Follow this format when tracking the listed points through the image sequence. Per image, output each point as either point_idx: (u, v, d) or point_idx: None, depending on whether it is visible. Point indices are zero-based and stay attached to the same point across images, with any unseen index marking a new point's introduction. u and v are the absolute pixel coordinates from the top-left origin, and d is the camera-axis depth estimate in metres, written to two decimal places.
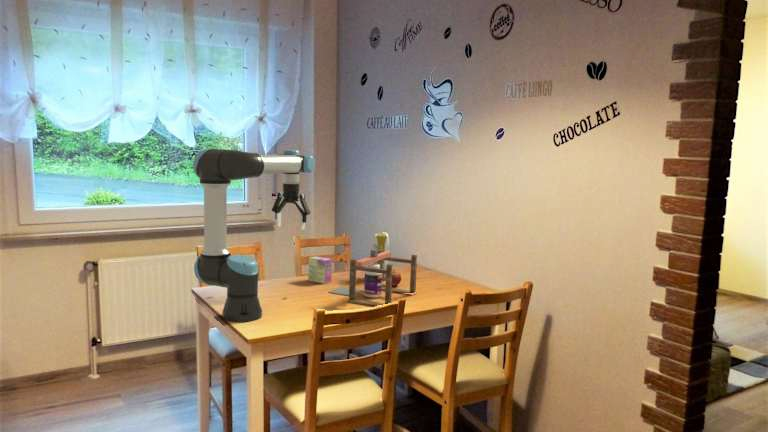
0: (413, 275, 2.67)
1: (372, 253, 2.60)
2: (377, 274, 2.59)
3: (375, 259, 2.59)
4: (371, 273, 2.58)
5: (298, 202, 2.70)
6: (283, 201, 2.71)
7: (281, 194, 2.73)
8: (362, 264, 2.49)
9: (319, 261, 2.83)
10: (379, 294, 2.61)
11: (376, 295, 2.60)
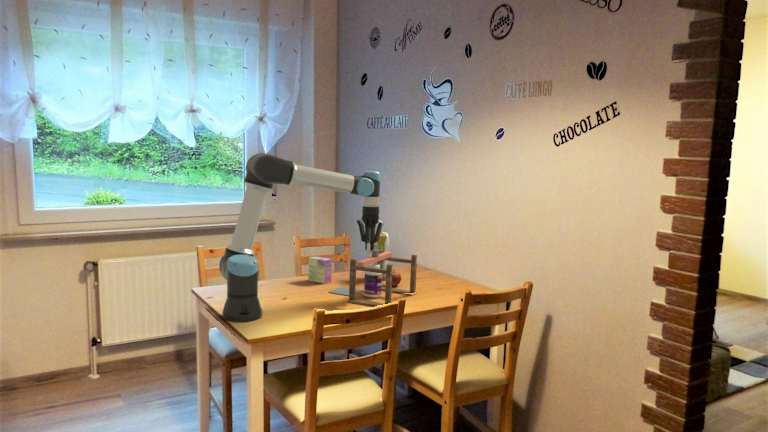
0: (413, 275, 2.67)
1: (373, 253, 2.60)
2: (377, 274, 2.59)
3: (376, 259, 2.59)
4: (371, 273, 2.58)
5: (374, 228, 2.60)
6: (366, 226, 2.60)
7: (360, 220, 2.62)
8: (363, 264, 2.48)
9: (319, 261, 2.83)
10: (379, 294, 2.61)
11: (376, 295, 2.60)
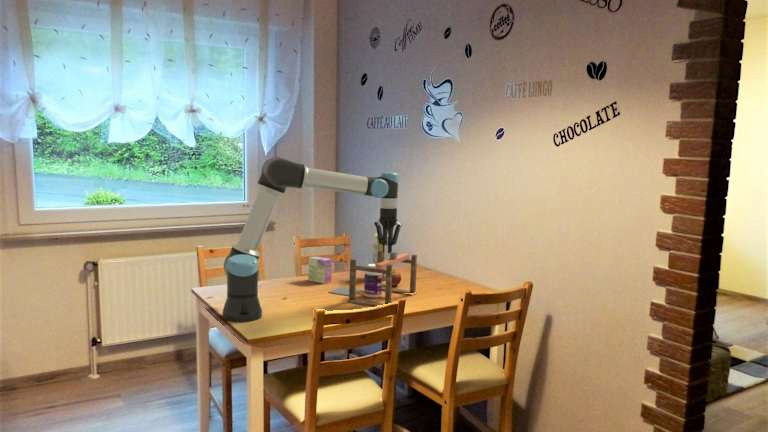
0: (413, 275, 2.67)
1: (391, 255, 2.56)
2: (377, 274, 2.59)
3: (394, 262, 2.55)
4: (371, 273, 2.58)
5: (392, 230, 2.56)
6: (384, 228, 2.56)
7: (378, 222, 2.58)
8: (382, 267, 2.44)
9: (319, 261, 2.83)
10: (379, 294, 2.61)
11: (376, 295, 2.60)
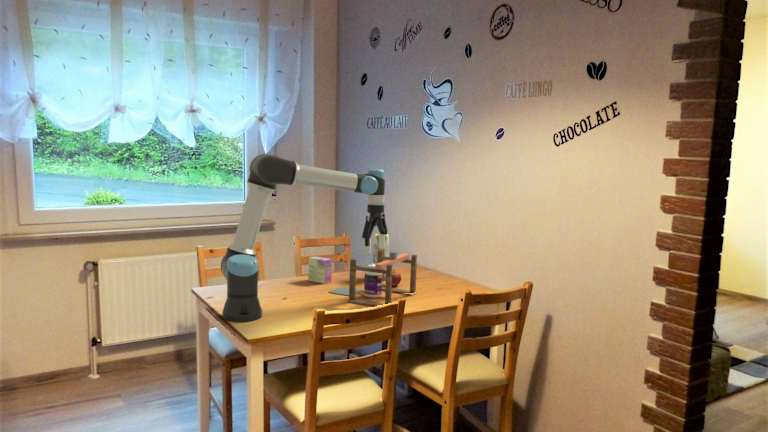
0: (413, 275, 2.67)
1: (391, 255, 2.56)
2: (377, 274, 2.59)
3: (394, 262, 2.55)
4: (371, 273, 2.58)
5: (371, 224, 2.56)
6: None
7: None
8: (382, 267, 2.44)
9: (319, 261, 2.83)
10: (379, 294, 2.61)
11: (376, 295, 2.60)
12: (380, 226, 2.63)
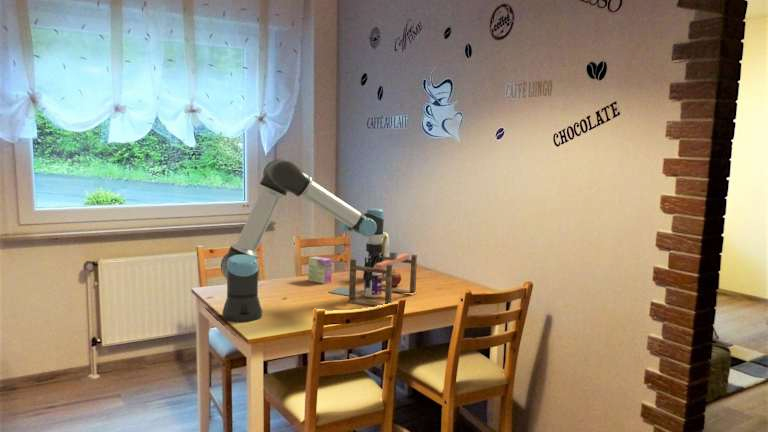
0: (413, 275, 2.67)
1: (391, 255, 2.56)
2: (377, 274, 2.59)
3: (394, 262, 2.55)
4: None
5: (370, 265, 2.59)
6: None
7: None
8: (382, 267, 2.44)
9: (319, 261, 2.83)
10: (379, 294, 2.61)
11: (376, 295, 2.60)
12: None
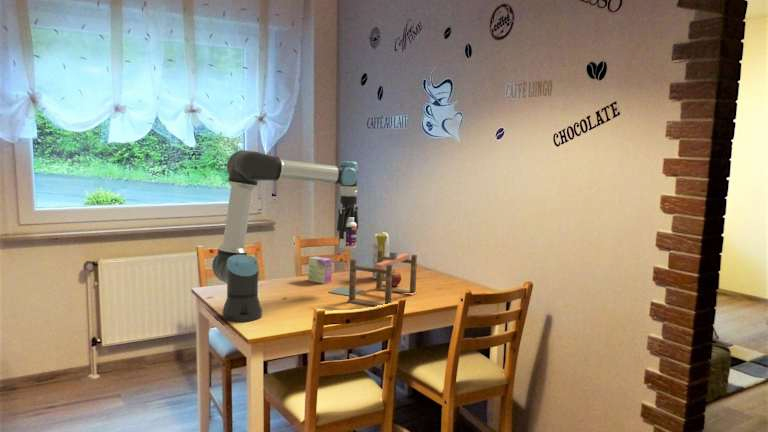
0: (413, 275, 2.67)
1: (391, 255, 2.56)
2: (351, 226, 2.62)
3: (394, 262, 2.55)
4: None
5: (345, 216, 2.62)
6: None
7: None
8: (382, 267, 2.44)
9: (319, 261, 2.83)
10: (353, 246, 2.64)
11: (350, 246, 2.63)
12: None
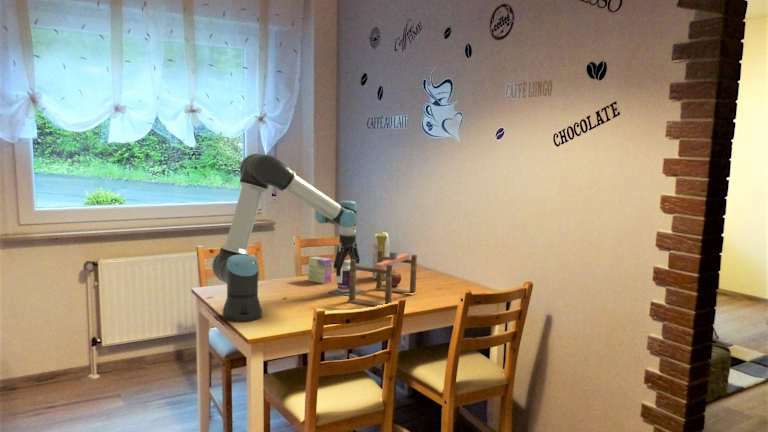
0: (413, 275, 2.67)
1: (391, 255, 2.56)
2: (349, 269, 2.64)
3: (394, 262, 2.55)
4: (343, 268, 2.64)
5: (343, 254, 2.64)
6: None
7: None
8: (382, 267, 2.44)
9: (319, 261, 2.83)
10: None
11: None
12: (352, 255, 2.71)
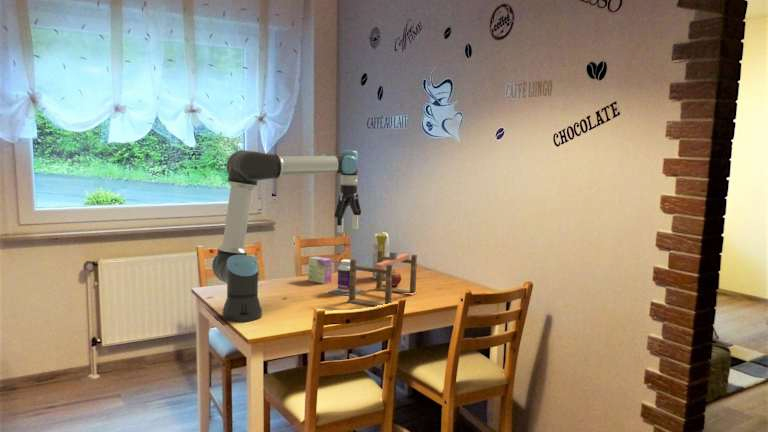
0: (413, 275, 2.67)
1: (391, 255, 2.56)
2: (349, 269, 2.64)
3: (394, 262, 2.55)
4: (344, 268, 2.64)
5: (344, 204, 2.61)
6: None
7: None
8: (382, 267, 2.44)
9: (319, 261, 2.83)
10: None
11: None
12: (353, 206, 2.68)
